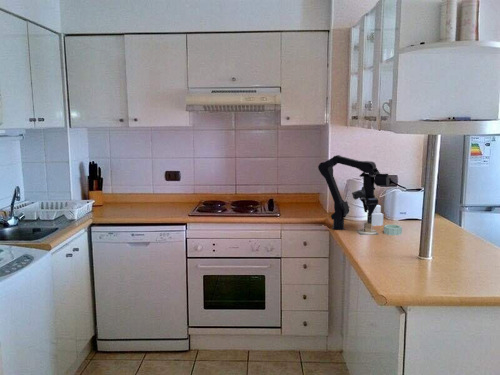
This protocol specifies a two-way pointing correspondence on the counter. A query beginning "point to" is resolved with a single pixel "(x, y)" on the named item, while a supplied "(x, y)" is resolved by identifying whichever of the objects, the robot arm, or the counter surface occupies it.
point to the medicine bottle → (376, 217)
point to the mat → (365, 234)
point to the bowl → (392, 229)
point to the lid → (367, 230)
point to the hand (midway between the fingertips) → (367, 214)
